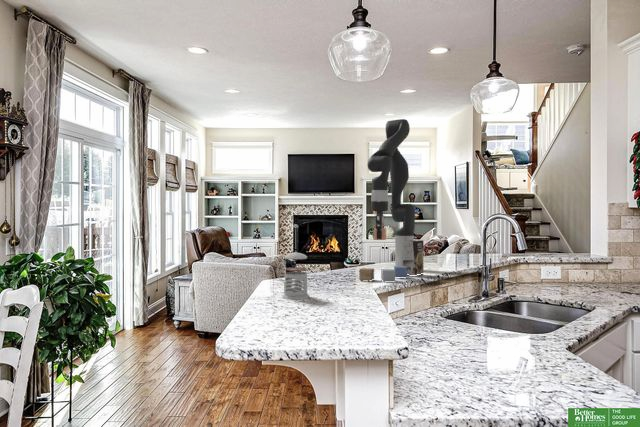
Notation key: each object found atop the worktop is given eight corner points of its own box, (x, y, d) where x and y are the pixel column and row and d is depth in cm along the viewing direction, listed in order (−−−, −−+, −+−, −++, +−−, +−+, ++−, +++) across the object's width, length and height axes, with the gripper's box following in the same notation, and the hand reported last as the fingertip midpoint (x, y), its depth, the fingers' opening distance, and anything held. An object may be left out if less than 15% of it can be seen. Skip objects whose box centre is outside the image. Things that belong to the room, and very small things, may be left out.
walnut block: (362, 279, 195) (362, 268, 195) (373, 280, 193) (373, 268, 193) (359, 281, 190) (359, 269, 190) (370, 281, 188) (370, 270, 188)
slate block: (381, 280, 192) (381, 268, 192) (392, 280, 192) (392, 268, 192) (383, 282, 187) (383, 270, 187) (395, 282, 187) (395, 270, 187)
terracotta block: (374, 239, 204) (374, 228, 204) (385, 239, 203) (385, 228, 203) (373, 239, 199) (373, 228, 199) (384, 240, 198) (384, 228, 198)
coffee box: (415, 277, 201) (415, 241, 201) (402, 276, 205) (402, 240, 205) (424, 274, 208) (424, 240, 208) (411, 273, 212) (411, 239, 212)
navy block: (394, 277, 202) (393, 266, 202) (405, 277, 201) (405, 266, 201) (395, 278, 197) (395, 267, 197) (406, 278, 196) (406, 267, 196)
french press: (306, 299, 149) (306, 224, 149) (273, 298, 151) (272, 224, 151) (312, 294, 159) (312, 224, 159) (281, 293, 161) (281, 223, 161)
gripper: (373, 201, 209) (373, 237, 209) (369, 200, 195) (369, 239, 195) (389, 201, 207) (389, 237, 207) (386, 200, 193) (386, 239, 193)
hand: (379, 238), depth 201 cm, fingers closed on terracotta block, 5 cm apart
